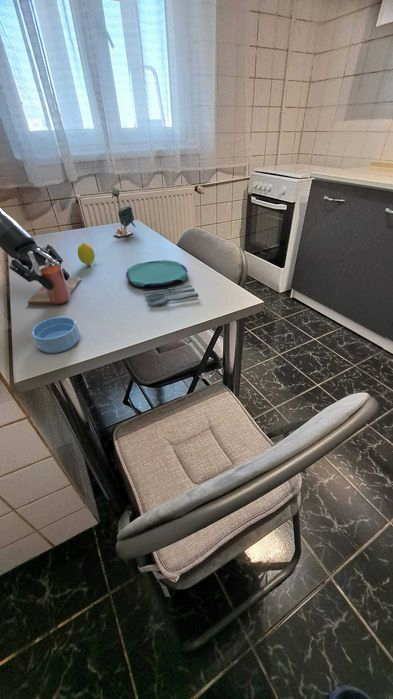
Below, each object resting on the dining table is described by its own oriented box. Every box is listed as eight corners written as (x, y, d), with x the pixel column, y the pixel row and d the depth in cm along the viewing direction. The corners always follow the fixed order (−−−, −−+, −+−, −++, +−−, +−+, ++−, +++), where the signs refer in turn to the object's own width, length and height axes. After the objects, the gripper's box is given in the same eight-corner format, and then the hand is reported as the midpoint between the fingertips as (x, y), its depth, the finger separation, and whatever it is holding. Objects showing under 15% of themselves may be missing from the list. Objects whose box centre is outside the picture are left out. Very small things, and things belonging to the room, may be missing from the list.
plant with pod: (139, 234, 136) (133, 185, 124) (115, 238, 132) (106, 188, 120) (134, 230, 142) (127, 183, 130) (111, 234, 138) (102, 185, 126)
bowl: (49, 360, 63) (42, 344, 60) (30, 342, 68) (24, 328, 66) (88, 340, 68) (84, 326, 66) (68, 326, 73) (63, 312, 71)
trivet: (63, 304, 83) (62, 300, 82) (28, 304, 83) (27, 301, 82) (81, 280, 96) (80, 277, 95) (51, 281, 96) (50, 278, 95)
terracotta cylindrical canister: (55, 304, 81) (45, 275, 75) (46, 298, 84) (35, 270, 79) (74, 297, 84) (65, 268, 79) (64, 291, 87) (55, 264, 82)
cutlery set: (178, 262, 106) (178, 256, 105) (205, 299, 83) (205, 291, 82) (123, 270, 102) (122, 264, 100) (135, 310, 79) (134, 303, 77)
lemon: (94, 268, 104) (88, 245, 99) (78, 268, 104) (72, 245, 99) (98, 262, 108) (93, 240, 104) (84, 262, 109) (78, 240, 104)
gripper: (-12, 233, 69) (46, 286, 73) (34, 218, 79) (82, 265, 83) (-18, 253, 73) (37, 302, 77) (26, 237, 84) (72, 280, 88)
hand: (60, 283), depth 80 cm, fingers closed on terracotta cylindrical canister, 5 cm apart
